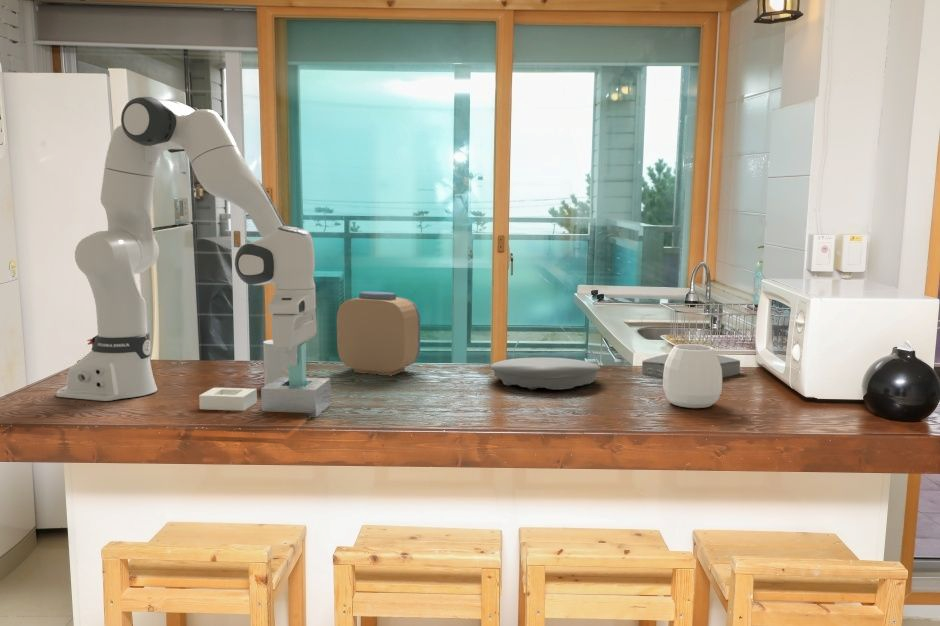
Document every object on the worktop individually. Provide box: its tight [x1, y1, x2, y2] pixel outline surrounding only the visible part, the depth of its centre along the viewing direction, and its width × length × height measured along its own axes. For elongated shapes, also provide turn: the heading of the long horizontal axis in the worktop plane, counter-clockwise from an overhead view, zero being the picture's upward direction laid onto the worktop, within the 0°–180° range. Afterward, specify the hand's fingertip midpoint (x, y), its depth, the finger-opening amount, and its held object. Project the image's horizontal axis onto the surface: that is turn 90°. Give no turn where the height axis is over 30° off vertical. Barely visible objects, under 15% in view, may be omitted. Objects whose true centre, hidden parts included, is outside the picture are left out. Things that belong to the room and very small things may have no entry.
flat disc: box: [490, 357, 601, 391], centre depth 221 cm, size 28×28×4 cm
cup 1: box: [263, 338, 289, 386], centre depth 211 cm, size 8×8×12 cm
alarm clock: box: [336, 291, 421, 377], centre depth 232 cm, size 21×10×22 cm, turn 66°
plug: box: [288, 343, 307, 386], centre depth 190 cm, size 3×3×10 cm
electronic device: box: [641, 353, 741, 379], centre depth 234 cm, size 19×22×5 cm
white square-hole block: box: [198, 387, 258, 412], centre depth 191 cm, size 10×8×4 cm
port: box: [260, 377, 332, 418], centre depth 191 cm, size 12×12×6 cm
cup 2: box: [662, 343, 723, 409], centre depth 197 cm, size 13×13×14 cm
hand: (297, 363), depth 190 cm, fingers closed on plug, 3 cm apart
